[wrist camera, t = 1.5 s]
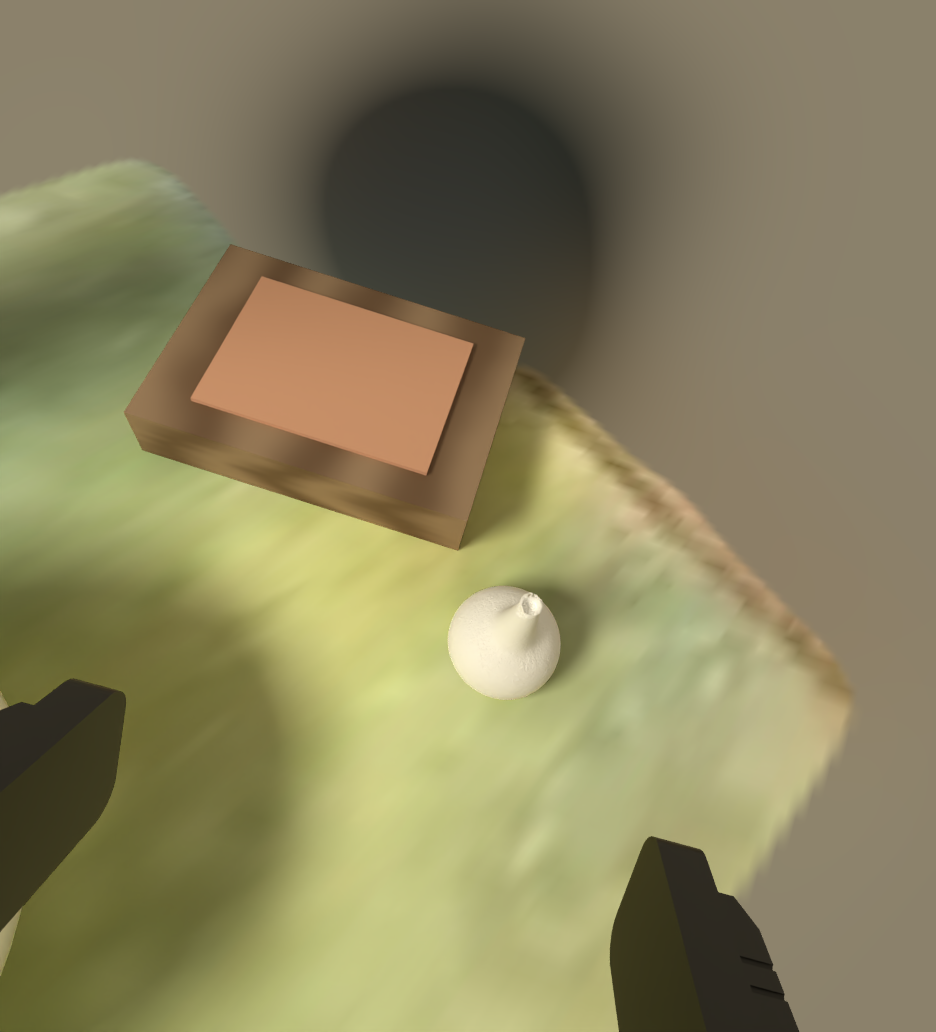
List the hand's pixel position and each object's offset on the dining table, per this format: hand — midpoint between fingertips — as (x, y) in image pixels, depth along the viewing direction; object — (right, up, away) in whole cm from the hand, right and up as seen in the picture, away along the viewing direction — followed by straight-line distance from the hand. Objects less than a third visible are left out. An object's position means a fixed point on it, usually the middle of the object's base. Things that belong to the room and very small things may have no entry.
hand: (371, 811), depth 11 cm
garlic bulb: (+3, -3, +31) cm, 31 cm away
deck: (-7, +11, +36) cm, 38 cm away
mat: (-6, +13, +32) cm, 35 cm away
